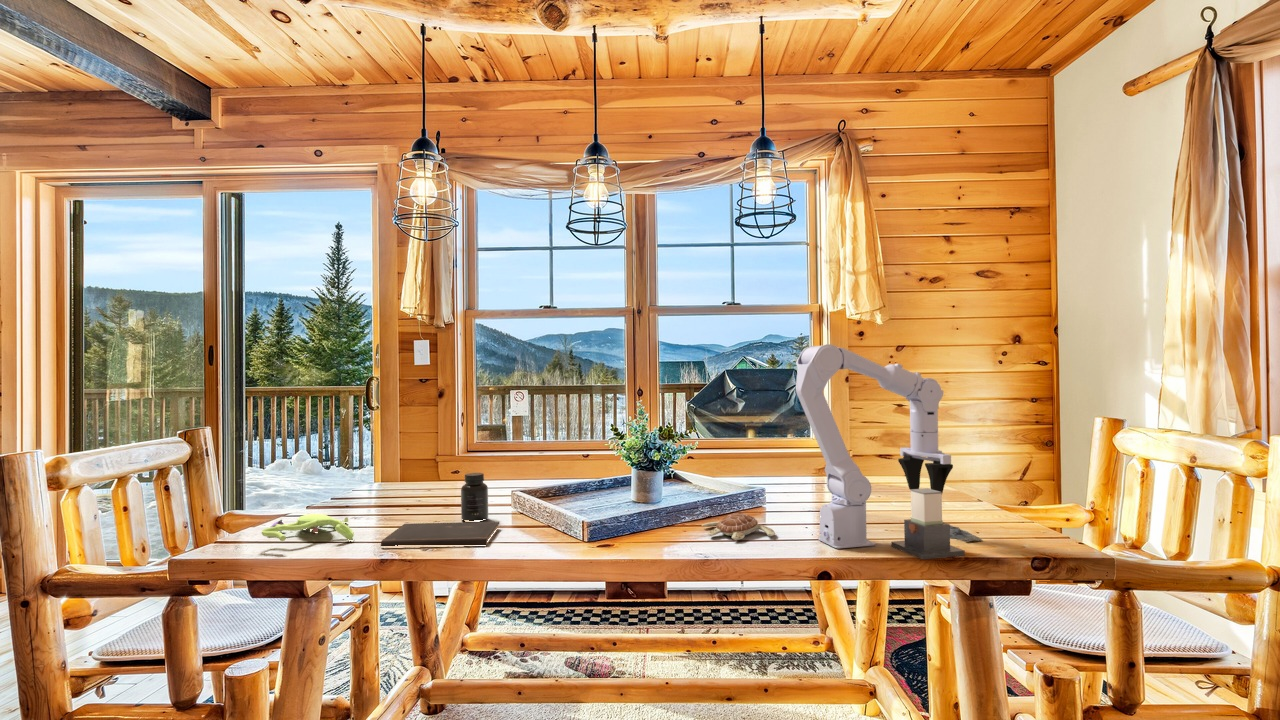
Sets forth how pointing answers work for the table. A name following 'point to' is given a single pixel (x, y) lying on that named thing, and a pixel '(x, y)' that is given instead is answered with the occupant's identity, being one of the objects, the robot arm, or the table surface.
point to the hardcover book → (442, 534)
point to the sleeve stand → (927, 541)
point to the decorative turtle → (737, 526)
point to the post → (926, 506)
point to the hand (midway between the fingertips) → (925, 492)
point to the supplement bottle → (474, 498)
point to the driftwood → (962, 535)
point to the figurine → (309, 526)
